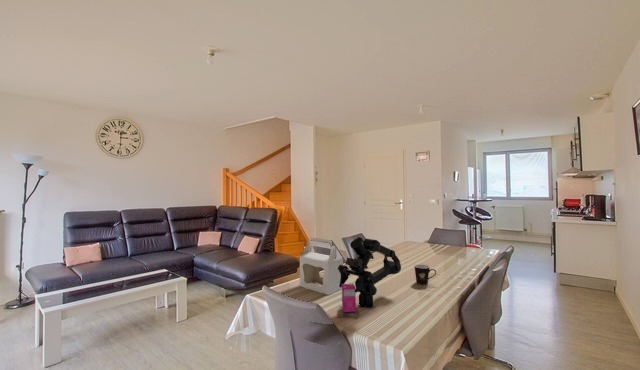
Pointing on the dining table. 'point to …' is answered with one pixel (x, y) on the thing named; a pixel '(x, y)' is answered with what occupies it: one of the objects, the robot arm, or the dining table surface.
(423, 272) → the coffee mug
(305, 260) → the gable box
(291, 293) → the dining table surface
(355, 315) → the walnut riser
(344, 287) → the supplement box
